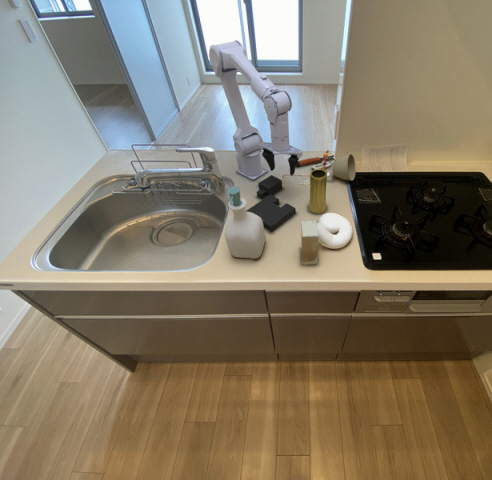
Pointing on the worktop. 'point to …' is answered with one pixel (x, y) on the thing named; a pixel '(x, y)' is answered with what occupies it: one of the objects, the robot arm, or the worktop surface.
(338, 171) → the cup
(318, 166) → the soap
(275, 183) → the black block with stub
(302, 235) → the cosmetic box
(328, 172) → the action figure
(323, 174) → the vase
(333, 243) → the sculpture
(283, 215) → the base pad
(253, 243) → the soap bottle
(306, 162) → the knife
